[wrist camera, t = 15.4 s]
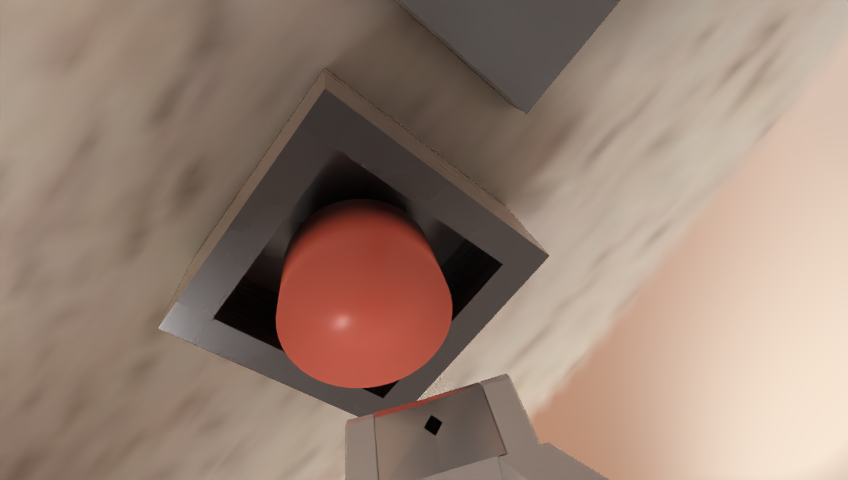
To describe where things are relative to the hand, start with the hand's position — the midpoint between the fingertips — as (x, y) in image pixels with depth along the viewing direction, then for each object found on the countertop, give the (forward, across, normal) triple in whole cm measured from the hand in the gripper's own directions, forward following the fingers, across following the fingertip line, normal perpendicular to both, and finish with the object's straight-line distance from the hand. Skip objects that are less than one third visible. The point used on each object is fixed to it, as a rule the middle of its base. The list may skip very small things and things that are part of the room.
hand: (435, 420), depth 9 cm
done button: (+5, +1, -1) cm, 5 cm away
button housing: (+8, +1, -1) cm, 8 cm away
